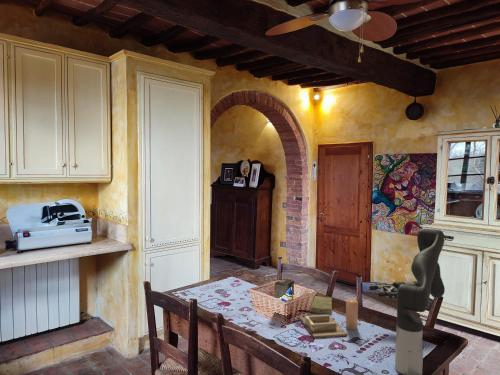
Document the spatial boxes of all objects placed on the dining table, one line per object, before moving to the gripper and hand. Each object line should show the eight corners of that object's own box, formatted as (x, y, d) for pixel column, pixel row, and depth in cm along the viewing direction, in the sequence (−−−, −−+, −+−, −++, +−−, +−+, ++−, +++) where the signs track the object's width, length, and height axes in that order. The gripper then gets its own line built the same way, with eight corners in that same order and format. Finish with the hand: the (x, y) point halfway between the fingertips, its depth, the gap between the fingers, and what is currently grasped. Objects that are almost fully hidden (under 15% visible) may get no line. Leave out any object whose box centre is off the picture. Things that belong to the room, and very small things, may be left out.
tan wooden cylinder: (359, 329, 177) (360, 303, 176) (348, 330, 176) (349, 303, 175) (354, 324, 182) (354, 298, 181) (343, 325, 181) (344, 299, 180)
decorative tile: (296, 299, 216) (296, 293, 216) (331, 302, 212) (331, 296, 212) (293, 311, 198) (294, 305, 198) (332, 315, 194) (332, 309, 194)
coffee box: (284, 306, 203) (284, 278, 202) (293, 309, 199) (294, 280, 198) (274, 311, 196) (275, 282, 195) (284, 315, 192) (285, 284, 191)
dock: (347, 335, 170) (347, 327, 170) (313, 338, 167) (314, 329, 167) (330, 317, 190) (330, 310, 189) (300, 319, 187) (300, 311, 187)
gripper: (396, 277, 190) (367, 278, 187) (413, 286, 176) (381, 288, 173) (395, 291, 190) (366, 293, 187) (412, 302, 176) (381, 304, 173)
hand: (373, 291), depth 180 cm, fingers open, 8 cm apart
